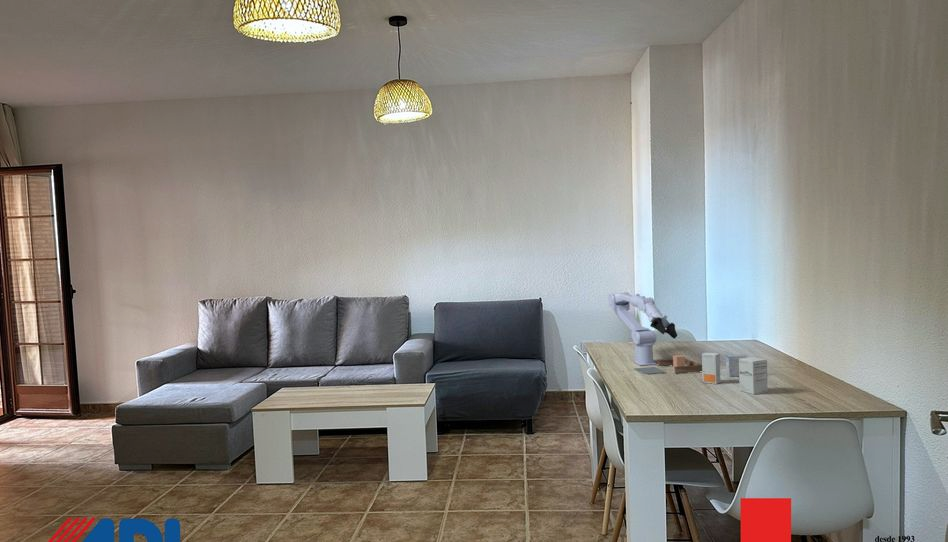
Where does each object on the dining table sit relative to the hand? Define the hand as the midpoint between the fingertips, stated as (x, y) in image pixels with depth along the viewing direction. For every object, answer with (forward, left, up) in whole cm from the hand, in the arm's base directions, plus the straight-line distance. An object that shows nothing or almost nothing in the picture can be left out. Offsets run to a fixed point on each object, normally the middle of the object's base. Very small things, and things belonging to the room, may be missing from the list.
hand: (670, 334), depth 311 cm
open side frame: (-3, +5, -16) cm, 17 cm away
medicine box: (+19, +21, -17) cm, 33 cm away
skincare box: (+28, +5, -17) cm, 33 cm away
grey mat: (-3, -9, -16) cm, 19 cm away
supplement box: (+48, +12, -17) cm, 52 cm away
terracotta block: (-3, +5, -16) cm, 17 cm away
